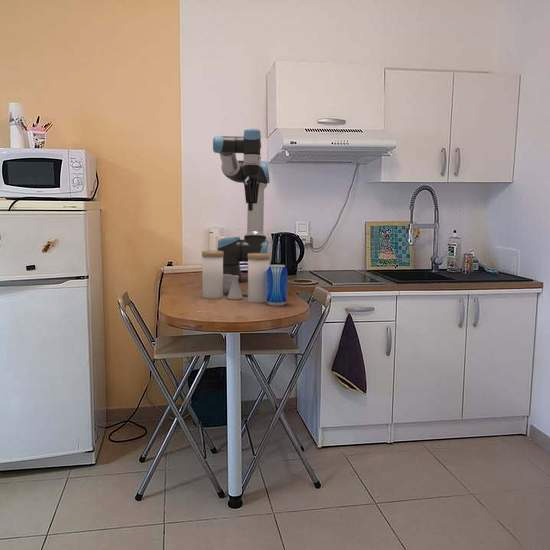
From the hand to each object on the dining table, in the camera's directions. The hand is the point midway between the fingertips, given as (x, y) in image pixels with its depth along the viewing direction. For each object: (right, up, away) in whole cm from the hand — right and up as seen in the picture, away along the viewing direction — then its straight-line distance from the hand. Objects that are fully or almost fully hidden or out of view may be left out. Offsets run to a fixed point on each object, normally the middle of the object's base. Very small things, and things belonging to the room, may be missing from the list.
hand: (251, 218), depth 245 cm
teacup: (-14, -34, +8) cm, 37 cm away
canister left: (-17, -35, -6) cm, 40 cm away
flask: (-7, -36, -10) cm, 38 cm away
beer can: (+11, -38, -22) cm, 45 cm away
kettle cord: (-4, -35, -4) cm, 36 cm away
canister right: (+4, -37, -14) cm, 40 cm away
